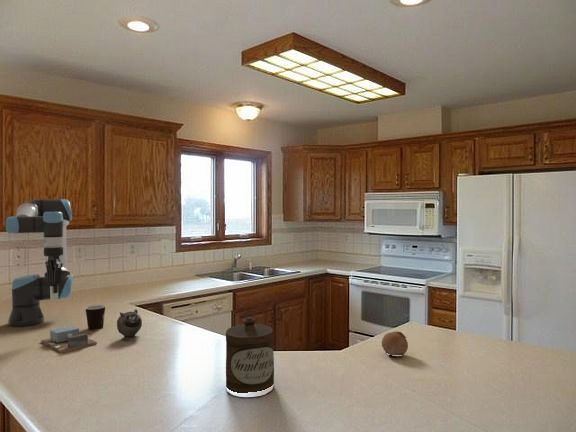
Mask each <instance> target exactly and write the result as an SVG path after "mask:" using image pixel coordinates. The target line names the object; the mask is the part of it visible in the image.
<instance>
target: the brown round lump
mask: <svg viewBox="0 0 576 432" xmlns="http://www.w3.org/2000/svg"><path fill="white" fill-rule="evenodd" d="M408 344H409V343H408V340H407V336H405V334H404V333H403V332H402V331H393V332H391V331H390V332H387V333H385V335H384V336H383V338H382V340H381V347H382V348H383V350H384V352H385V354H386V353H388V354H390V355H405V354H406V353H407V351H408V348H409V345H408Z"/></svg>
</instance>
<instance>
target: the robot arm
mask: <svg viewBox="0 0 576 432" xmlns="http://www.w3.org/2000/svg"><path fill="white" fill-rule="evenodd" d="M72 220H73V214H72V207H71V202H70V200H68V199H63V198H59V199H58V198H55V199H54V198H52V199H51V198H47V199H46V198H43V199H42V198H37V199H30V200H27V201H24V202H22V204H20V205H19V206H18V207H17V209H16V215H13V216H8V217H6V220H5V230H6V232H7V234H15V235H16V234H37V233H38V234H40V233H41V234H43V239H42V242H43V246H44V247H43V256H44V257H47V260H46V261H45V262H44V263H45V267H46V268H45V269H46V271H45V272H44V276H40V275H39V274H38V273H37V274H28V275H23V276H19V277H17V278H16V277H15V278H14V279H13V280H12V283H11V298H12V299H11V300H12V302H11V312H10V314H9V317H8V321H7V325H8V327H13V328H14V327H15V328H16V327H19V328H20V327H28V326H33V325H34V326H35V325H38V324H41V323H44V322H45V316H44V313H43V311H42V307H41V304H40V303H41V301H51V302H53V301H55V302H56V301H59V300H62V299H68V298H69V297H71V295H72V290H73V281H74V275H73V274H71V271H70V270H69V269H68V262H67V260H68V257H67V255H68V254H67V253H68V250H67V226H68V225H70V221H72Z"/></svg>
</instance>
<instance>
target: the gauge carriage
mask: <svg viewBox="0 0 576 432" xmlns="http://www.w3.org/2000/svg"><path fill="white" fill-rule="evenodd" d="M49 335H50V336H49V338H50V340H52V342H51V343H54V342H56V343H59V342H63V341H67V340H68V337H71V336H75V335H80V328H79V327H77V326H74V325H69V326H65V327H59V328H55V329H50V333H49Z"/></svg>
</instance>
